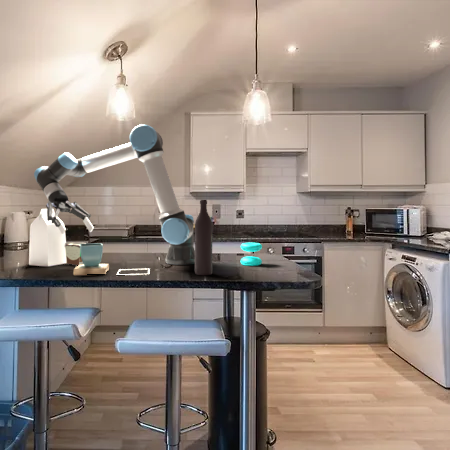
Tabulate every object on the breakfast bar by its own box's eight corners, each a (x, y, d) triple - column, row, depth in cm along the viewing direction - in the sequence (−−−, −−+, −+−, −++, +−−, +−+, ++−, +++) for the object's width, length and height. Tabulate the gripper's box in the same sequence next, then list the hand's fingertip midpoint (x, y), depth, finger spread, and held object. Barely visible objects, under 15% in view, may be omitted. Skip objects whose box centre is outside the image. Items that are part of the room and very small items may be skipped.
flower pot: (79, 265, 160) (79, 243, 159) (101, 263, 163) (101, 242, 162) (80, 268, 152) (79, 245, 151) (103, 267, 155) (103, 245, 154)
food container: (92, 264, 179) (92, 243, 178) (81, 266, 174) (81, 244, 173) (75, 262, 185) (75, 241, 185) (64, 263, 180) (64, 242, 180)
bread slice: (108, 269, 165) (108, 263, 164) (105, 274, 153) (105, 267, 153) (79, 270, 162) (79, 264, 162) (73, 275, 151) (73, 268, 151)
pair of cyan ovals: (257, 245, 172) (237, 244, 177) (257, 267, 173) (237, 265, 177) (265, 243, 181) (245, 242, 186) (264, 263, 182) (245, 262, 186)
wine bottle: (214, 275, 152) (214, 199, 151) (196, 276, 150) (196, 199, 149) (209, 272, 159) (209, 199, 157) (193, 272, 157) (193, 199, 155)
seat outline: (149, 269, 165) (149, 268, 165) (149, 274, 152) (149, 273, 152) (119, 270, 163) (119, 269, 163) (116, 275, 150) (116, 274, 150)
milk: (48, 266, 172) (47, 208, 171) (28, 265, 176) (27, 208, 175) (67, 262, 184) (66, 208, 182) (49, 261, 188) (47, 208, 186)
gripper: (77, 201, 180) (98, 234, 173) (25, 201, 159) (47, 239, 152) (84, 190, 177) (106, 223, 170) (32, 188, 156) (55, 226, 149)
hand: (78, 230), depth 161 cm, fingers open, 13 cm apart
